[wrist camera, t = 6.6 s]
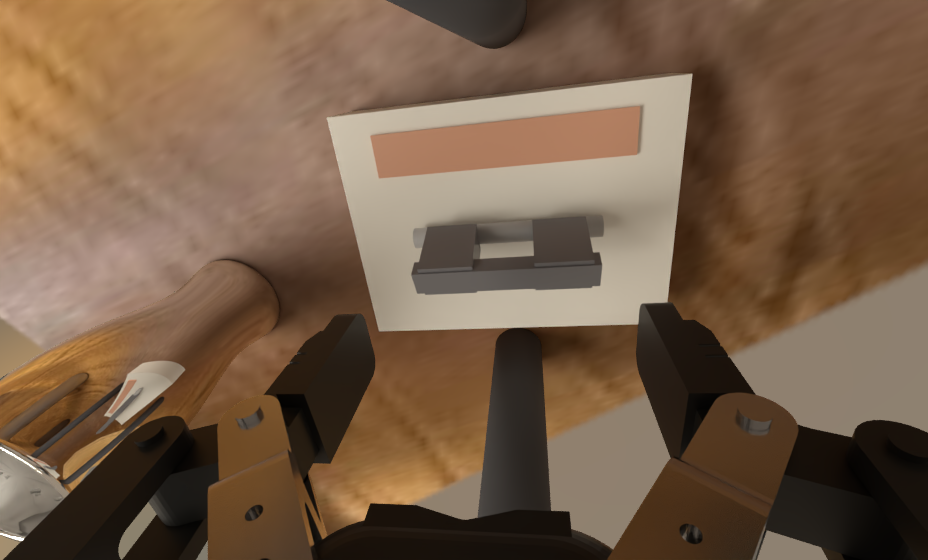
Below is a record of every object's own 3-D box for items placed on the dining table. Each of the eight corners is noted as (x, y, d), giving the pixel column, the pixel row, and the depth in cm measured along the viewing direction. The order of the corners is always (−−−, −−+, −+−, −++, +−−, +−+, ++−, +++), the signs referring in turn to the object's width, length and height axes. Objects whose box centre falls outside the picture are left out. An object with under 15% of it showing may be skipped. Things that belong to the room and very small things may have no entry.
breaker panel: (350, 111, 22) (325, 117, 20) (669, 72, 20) (694, 73, 17) (393, 305, 28) (378, 333, 25) (650, 296, 25) (666, 325, 22)
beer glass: (286, 266, 27) (60, 454, 14) (287, 350, 30) (103, 567, 17) (184, 242, 27) (-135, 404, 14) (195, 328, 31) (-56, 525, 17)
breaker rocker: (413, 219, 21) (398, 271, 18) (601, 205, 19) (615, 260, 17) (420, 244, 22) (407, 297, 19) (599, 232, 20) (612, 288, 18)
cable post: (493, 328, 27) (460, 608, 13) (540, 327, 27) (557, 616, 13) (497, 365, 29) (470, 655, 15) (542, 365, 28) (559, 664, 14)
